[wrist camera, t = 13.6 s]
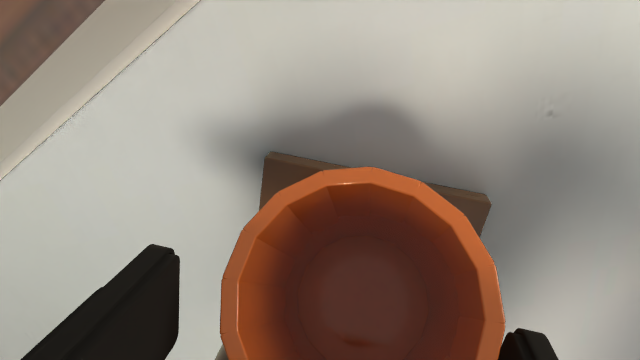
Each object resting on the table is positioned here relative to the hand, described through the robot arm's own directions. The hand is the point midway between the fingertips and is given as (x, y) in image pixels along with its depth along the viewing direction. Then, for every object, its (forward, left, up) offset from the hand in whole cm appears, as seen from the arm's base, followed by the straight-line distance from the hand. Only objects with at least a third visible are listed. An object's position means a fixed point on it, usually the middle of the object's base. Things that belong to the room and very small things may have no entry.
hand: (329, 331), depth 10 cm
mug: (-1, +6, -5) cm, 8 cm away
